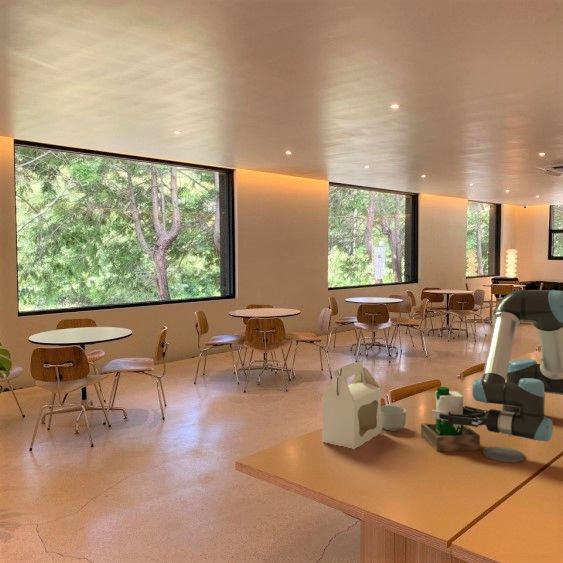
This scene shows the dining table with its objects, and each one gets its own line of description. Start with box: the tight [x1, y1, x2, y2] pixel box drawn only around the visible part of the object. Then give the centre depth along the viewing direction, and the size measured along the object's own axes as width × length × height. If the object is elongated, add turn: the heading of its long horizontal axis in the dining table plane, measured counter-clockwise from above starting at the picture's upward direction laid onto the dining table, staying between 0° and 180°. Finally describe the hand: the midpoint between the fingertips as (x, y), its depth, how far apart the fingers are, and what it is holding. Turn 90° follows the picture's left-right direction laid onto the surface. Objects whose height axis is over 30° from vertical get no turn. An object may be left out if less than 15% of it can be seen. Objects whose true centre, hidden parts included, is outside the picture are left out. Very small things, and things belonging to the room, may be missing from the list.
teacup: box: [381, 404, 407, 432], centre depth 205 cm, size 14×11×8 cm
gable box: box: [321, 360, 382, 450], centre depth 194 cm, size 22×13×28 cm, turn 144°
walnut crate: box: [420, 422, 481, 452], centre depth 188 cm, size 15×15×5 cm
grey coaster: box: [482, 446, 526, 464], centre depth 175 cm, size 13×13×1 cm
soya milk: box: [435, 386, 464, 436], centre depth 187 cm, size 9×9×20 cm
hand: (437, 410), depth 190 cm, fingers closed on soya milk, 9 cm apart
